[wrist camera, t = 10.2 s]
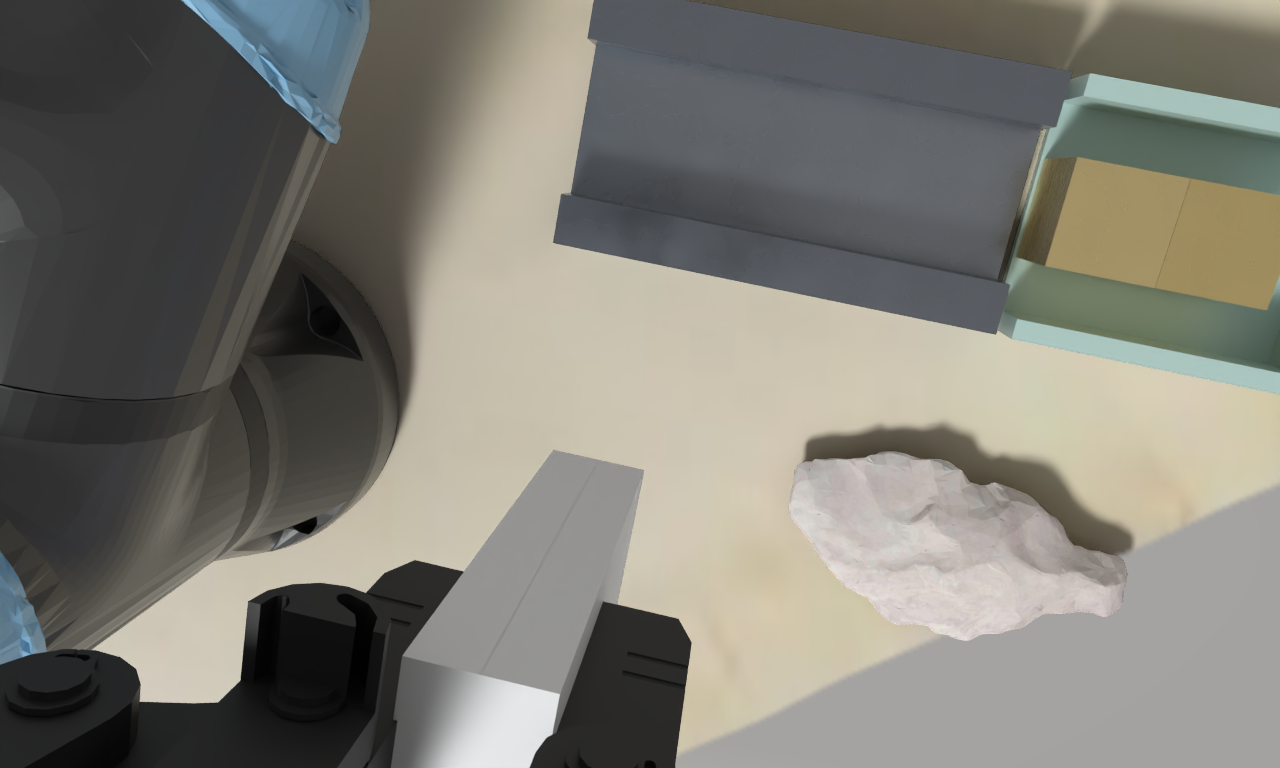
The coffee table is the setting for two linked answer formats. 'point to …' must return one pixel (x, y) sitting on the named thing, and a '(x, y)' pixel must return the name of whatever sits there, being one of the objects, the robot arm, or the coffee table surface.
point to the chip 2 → (1225, 245)
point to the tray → (1138, 315)
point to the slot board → (805, 157)
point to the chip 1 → (1102, 219)
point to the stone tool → (946, 546)
